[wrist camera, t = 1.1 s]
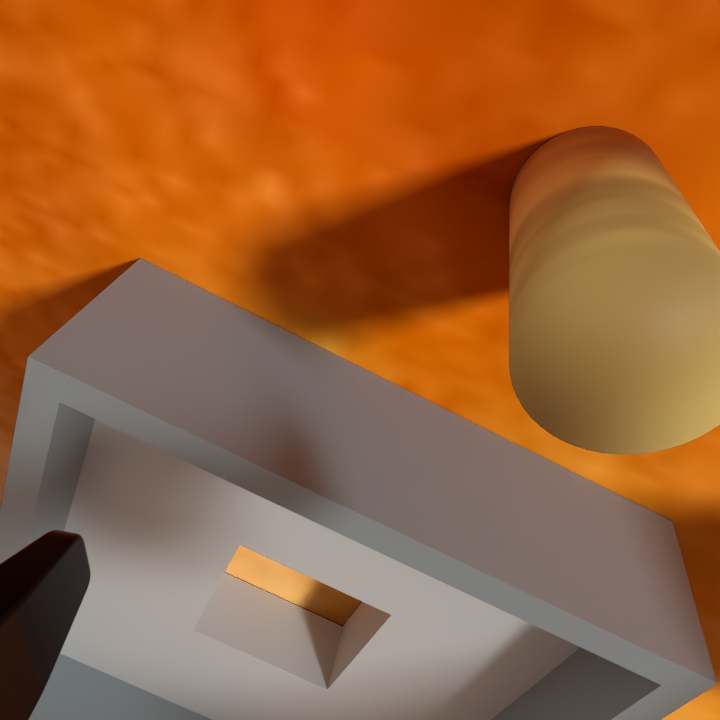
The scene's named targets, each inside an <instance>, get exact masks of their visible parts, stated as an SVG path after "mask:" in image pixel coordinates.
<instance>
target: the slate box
mask: <svg viewBox="0 0 720 720" xmlns="http://www.w3.org/2000/svg"><path fill="white" fill-rule="evenodd" d="M52 530H61V531H66V532H72V533H77V534H80V535H81V536H82V538H83V539H84V543H85V548H86V552H87V557H88V561H89V566H90V572H91V576H90V582H89V586H88V589H87V591H86V594H85V596H84V598H83V601H82V603H81V605H80V608H79V610H78V612H77V615H76V617H75V619H74V622H73V624H72V626H71V629H70V631H69V633H68V636H67V638H66V641H65V643H64V645H63V648H62V650H61V652H60V655H59V657H58V659H57V662H56V664H55V666H54V669H53V671H52V673H51V676H50V678H49V680H48V682H47V685H46V687H45V689H44V691H43V693H42V695H41V697H40V699H39V701H38V703H37V705H36V707H35V709H34V711H33V712H32V714H31V716H30V718H29V720H661V719H663V718H664V717H666V716H667V715H669V714H670V713H672V712H674V711H675V710H677V709H678V708H680V707H681V706H683V705H685V704H686V703H688V702H689V701H691V700H692V699H694V698H695V697H697V696H699V695H700V694H702V693H703V692H705V691H706V690H708V689H710V688H711V687H713V686H714V685H716V684H717V680H716V676H715V673H714V669H713V666H712V662H711V658H710V655H709V651H708V648H707V644H706V640H705V637H704V633H703V630H702V626H701V622H700V619H699V615H698V611H697V608H696V604H695V601H694V597H693V593H692V590H691V586H690V583H689V579H688V575H687V572H686V568H685V565H684V561H683V557H682V554H681V550H680V547H679V543H678V539H677V536H676V532H675V528H674V525H673V521H671V520H669V519H666V518H664V517H662V516H660V515H658V514H656V513H654V512H652V511H650V510H648V509H646V508H644V507H642V506H640V505H638V504H636V503H634V502H632V501H630V500H628V499H626V498H624V497H622V496H620V495H618V494H616V493H614V492H612V491H610V490H608V489H606V488H604V487H602V486H600V485H598V484H596V483H594V482H592V481H590V480H588V479H586V478H584V477H582V476H580V475H578V474H576V473H574V472H572V471H569V470H567V469H565V468H563V467H561V466H559V465H557V464H555V463H553V462H551V461H549V460H547V459H545V458H543V457H541V456H539V455H537V454H535V453H533V452H531V451H529V450H527V449H525V448H523V447H521V446H519V445H517V444H515V443H513V442H511V441H509V440H507V439H505V438H503V437H501V436H499V435H497V434H495V433H493V432H491V431H489V430H487V429H485V428H483V427H481V426H479V425H477V424H474V423H472V422H470V421H468V420H466V419H464V418H462V417H460V416H458V415H456V414H454V413H452V412H450V411H448V410H446V409H444V408H442V407H440V406H438V405H436V404H434V403H432V402H430V401H428V400H426V399H424V398H422V397H420V396H418V395H416V394H414V393H412V392H410V391H408V390H406V389H404V388H402V387H400V386H398V385H396V384H394V383H392V382H390V381H388V380H386V379H384V378H382V377H380V376H377V375H375V374H373V373H371V372H369V371H367V370H365V369H363V368H361V367H359V366H357V365H355V364H353V363H351V362H349V361H347V360H345V359H343V358H341V357H339V356H337V355H335V354H333V353H331V352H329V351H327V350H325V349H323V348H321V347H319V346H317V345H315V344H313V343H311V342H309V341H307V340H305V339H303V338H301V337H299V336H297V335H295V334H293V333H291V332H289V331H287V330H285V329H283V328H280V327H278V326H276V325H274V324H272V323H270V322H268V321H266V320H264V319H262V318H260V317H258V316H256V315H254V314H252V313H250V312H248V311H246V310H244V309H242V308H240V307H238V306H236V305H234V304H232V303H230V302H228V301H226V300H224V299H222V298H220V297H218V296H216V295H214V294H212V293H210V292H208V291H206V290H204V289H202V288H200V287H198V286H196V285H194V284H192V283H190V282H188V281H186V280H183V279H181V278H179V277H177V276H175V275H173V274H171V273H169V272H167V271H165V270H163V269H161V268H159V267H157V266H155V265H153V264H151V263H149V262H147V261H145V260H143V259H141V258H140V259H139V260H138V261H136V262H135V263H134V264H133V265H132V266H131V267H130V268H128V269H127V270H126V271H125V272H124V273H123V274H122V275H120V276H119V277H118V278H117V279H116V280H115V281H114V282H112V283H111V284H110V285H109V286H108V287H107V288H106V289H104V290H103V291H102V292H101V293H100V294H99V295H98V296H96V297H95V298H94V299H93V300H92V301H91V302H90V303H88V304H87V305H86V306H85V307H84V308H83V309H82V310H80V311H79V312H78V313H77V314H76V315H75V316H74V317H72V318H71V319H70V320H69V321H68V322H67V323H66V324H64V325H63V326H62V327H61V328H60V329H59V330H58V331H56V332H55V333H54V334H53V335H52V336H51V337H50V338H48V339H47V340H46V341H45V342H44V343H43V344H42V345H40V346H39V347H38V348H37V349H36V350H35V351H34V352H32V353H31V354H30V355H29V356H28V359H27V365H26V370H25V376H24V381H23V387H22V392H21V398H20V403H19V409H18V414H17V420H16V425H15V431H14V436H13V442H12V447H11V453H10V459H9V464H8V470H7V475H6V481H5V486H4V492H3V497H2V503H1V508H0V563H2V562H3V561H5V560H6V559H8V558H9V557H11V556H12V555H14V554H15V553H17V552H18V551H20V550H21V549H23V548H24V547H26V546H27V545H29V544H30V543H32V542H33V541H35V540H36V539H38V538H39V537H41V536H42V535H44V534H46V533H47V532H50V531H52ZM239 545H241V546H243V547H245V548H248V549H250V550H252V551H254V552H256V553H258V554H261V555H263V556H265V557H267V558H269V559H271V560H274V561H276V562H278V563H280V564H282V565H284V566H287V567H289V568H291V569H293V570H295V571H297V572H300V573H302V574H304V575H306V576H308V577H310V578H312V579H315V580H317V581H319V582H321V583H323V584H325V585H328V586H330V587H332V588H334V589H336V590H338V591H341V592H343V593H345V594H347V595H349V596H351V597H354V598H356V599H358V600H360V601H362V603H361V604H360V605H359V607H358V608H357V609H356V610H355V612H354V613H353V614H352V615H351V617H350V618H349V619H348V620H347V622H346V623H345V624H344V626H340V625H338V624H336V623H334V622H332V621H330V620H327V619H325V618H323V617H321V616H319V615H316V614H314V613H312V612H310V611H308V610H306V609H303V608H301V607H299V606H297V605H295V604H292V603H290V602H288V601H286V600H284V599H281V598H279V597H277V596H275V595H273V594H271V593H268V592H266V591H264V590H262V589H260V588H257V587H255V586H253V585H251V584H249V583H247V582H244V581H242V580H240V579H238V578H236V577H233V576H231V575H229V574H227V573H225V570H226V569H227V567H228V565H229V563H230V561H231V559H232V557H233V556H234V554H235V552H236V550H237V548H238V546H239Z"/></svg>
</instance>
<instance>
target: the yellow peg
mask: <svg viewBox="0 0 720 720" xmlns="http://www.w3.org/2000/svg"><path fill="white" fill-rule="evenodd" d="M509 369H510V376H511V381H512V385H513V388H514V391H515V393H516V396H517V398H518V399H519V401H520V403H521V405H522V406H523V408H524V409H525V410H526V412H527V413H528V414H529V416H530V417H531V418H532V419H533V420H534V421H535V422H536V423H537V424H538V425H539V426H541V427H542V428H543V429H545V430H546V431H547V432H549V433H550V434H552V435H553V436H555V437H557V438H559V439H560V440H562V441H564V442H567V443H569V444H571V445H574V446H577V447H580V448H583V449H586V450H590V451H595V452H600V453H608V454H643V453H651V452H656V451H661V450H666V449H669V448H672V447H676V446H679V445H682V444H684V443H687V442H689V441H692V440H694V439H696V438H698V437H700V436H702V435H703V434H705V433H707V432H709V431H710V430H712V429H713V428H715V427H716V426H718V425H719V424H720V251H719V250H718V248H717V247H716V245H715V244H714V242H713V241H712V239H711V238H710V236H709V235H708V233H707V232H706V230H705V229H704V227H703V226H702V224H701V223H700V221H699V220H698V218H697V217H696V215H695V214H694V212H693V210H692V209H691V207H690V206H689V204H688V203H687V201H686V200H685V198H684V197H683V195H682V194H681V192H680V191H679V189H678V188H677V186H676V185H675V183H674V182H673V180H672V179H671V177H670V176H669V174H668V173H667V171H666V170H665V168H664V167H663V165H662V164H661V162H660V161H659V159H658V157H657V156H656V155H655V153H654V152H653V151H652V150H651V148H650V147H649V146H648V145H646V144H645V143H644V142H643V141H642V140H640V139H639V138H637V137H636V136H634V135H632V134H630V133H628V132H626V131H623V130H620V129H616V128H611V127H605V126H590V127H581V128H577V129H573V130H570V131H567V132H564V133H562V134H560V135H558V136H556V137H554V138H552V139H550V140H549V141H547V142H546V143H544V144H543V145H541V146H540V147H539V148H538V149H537V150H536V151H535V152H533V154H532V155H531V156H530V157H529V158H528V159H527V160H526V162H525V163H524V165H523V166H522V167H521V169H520V171H519V173H518V175H517V176H516V179H515V181H514V184H513V187H512V191H511V195H510V205H509Z"/></svg>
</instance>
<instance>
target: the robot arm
mask: <svg viewBox="0 0 720 720" xmlns="http://www.w3.org/2000/svg"><path fill="white" fill-rule="evenodd" d="M90 576H91V572H90V566H89V561H88V557H87V552H86V548H85V543H84V539H83V538H82V536H81V535H80V534H77V533H72V532H66V531H61V530H52V531H50V532H47V533H46V534H44V535H42V536H41V537H39V538H38V539H36V540H35V541H33V542H32V543H30V544H29V545H27V546H26V547H24V548H23V549H21V550H20V551H18V552H17V553H15V554H14V555H12V556H11V557H9V558H8V559H6V560H5V561H3V562H2V563H0V720H29V718H30V716H31V714H32V712H33V711H34V709H35V707H36V705H37V703H38V701H39V699H40V697H41V695H42V693H43V691H44V689H45V687H46V685H47V682H48V680H49V678H50V676H51V673H52V671H53V669H54V666H55V664H56V662H57V659H58V657H59V655H60V652H61V650H62V648H63V645H64V643H65V641H66V638H67V636H68V633H69V631H70V629H71V626H72V624H73V622H74V619H75V617H76V615H77V612H78V610H79V608H80V605H81V603H82V601H83V598H84V596H85V594H86V591H87V589H88V586H89V582H90Z"/></svg>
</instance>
